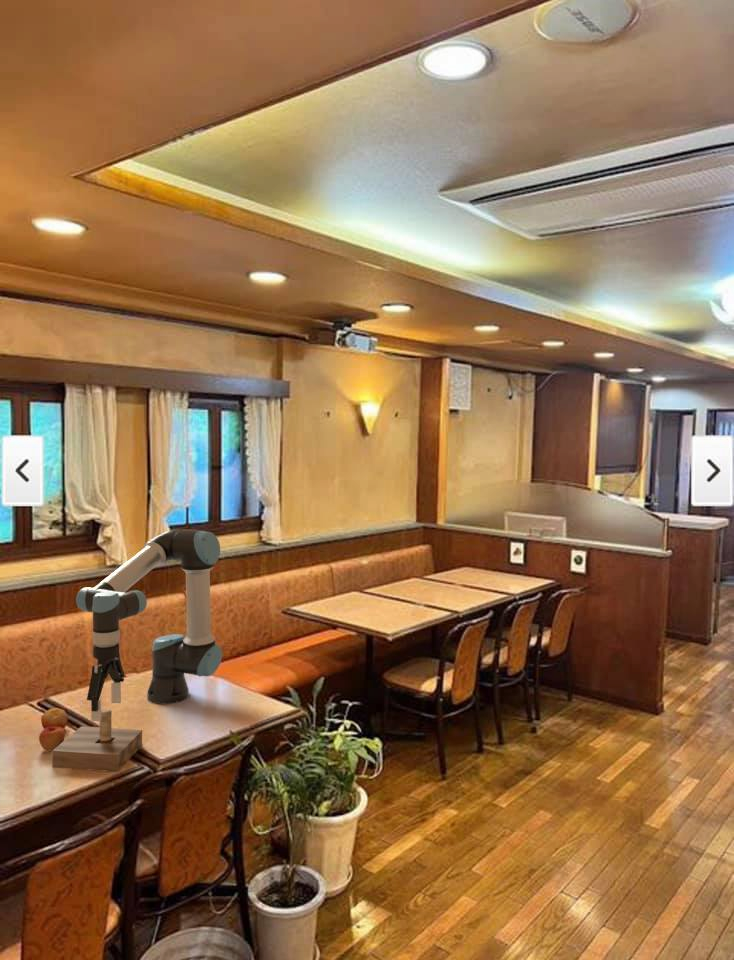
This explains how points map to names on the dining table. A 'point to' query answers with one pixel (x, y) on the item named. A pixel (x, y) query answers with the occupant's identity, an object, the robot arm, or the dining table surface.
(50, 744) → the apple
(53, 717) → the fruit
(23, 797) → the dining table surface
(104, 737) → the peg
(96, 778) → the dining table surface
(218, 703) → the dining table surface
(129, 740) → the board
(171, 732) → the dining table surface
